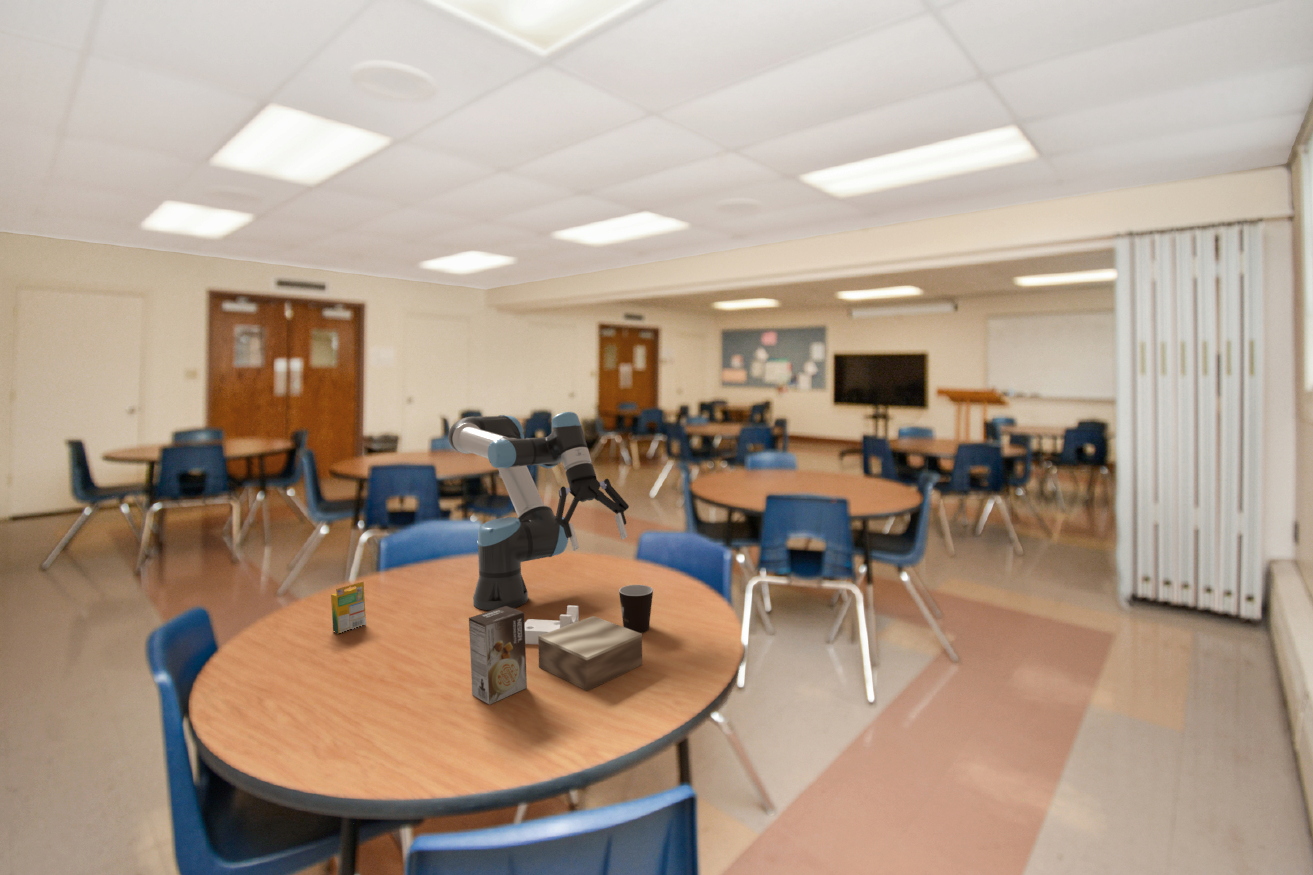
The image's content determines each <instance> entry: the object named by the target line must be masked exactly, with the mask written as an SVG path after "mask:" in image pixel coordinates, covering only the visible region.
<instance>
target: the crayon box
mask: <svg viewBox="0 0 1313 875" xmlns="http://www.w3.org/2000/svg"><path fill="white" fill-rule="evenodd" d="M335 589H336V592H335V593H332V594H330V599H331V600H330V602H331V616H332V617H331V618H332V619H331V620H332V632H333V631H335V632H336V633H335V632H334V633H335V634H337V633H341V634H343V633H345V632H344V631H346V632H348V631H347V630H349V629H352V630H355V629H356V628H355V627H358V628H360V627H359V626H361V625H365V626H366V625H367V619H366V618H367V617H366V603H365V583H364V581H361V582H357V583H353V584H349V585H346V586H343V587H339V588H335ZM361 627H362V626H361ZM354 628H355V629H354ZM349 631H350V630H349ZM342 632H343V633H342Z"/></svg>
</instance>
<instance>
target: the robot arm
mask: <svg viewBox="0 0 1313 875" xmlns="http://www.w3.org/2000/svg"><path fill="white" fill-rule="evenodd" d="M550 422H551V428H552V431H551V433H550V434H548V436H546V437H545V436H544V437H543V436H542V437H541V436H540V437H530V438H529V437H526V438H525V435H524V433H523V432H524V428H523V425H522V423H521V422H520V421H519V419H518V418H516V417H515V416H512V415H505V414H500V415H493V416H490V415H489V416H487V415H485V416H468V417H467V416H466V417H463V418H460V419H458V420H457V421H456V422H454V423H453V424H452V426H451V427H450V428H449V430H448V434H447V435H448V439H447V440H448V442H449V444H450V446H451V447H452V449H453V450H455V451H456V452H458V453H462V454H467V455H468V454H469V455H470V454H474V455H476V456H479V457H482V458H485V459H487V460H488V462H489V464H490V465H491V466H492V467H493V468H495V469H497V470H498V472H499V475H500V477H501V479H502V482H503V484H504V487H505V489H506V491H507V493H508V496H509V499H510V501H511V503H512V505H513V506H512V507H514V510H515V513H516V515H517V517H514V516H513V517H512V516H507V517H499V518H495V519H491V520H488V521H486V522H484V523H483V524H481V525H480V526H479V528H478V529H477V530H478V532H477V541H476V544H477V552H478V554H477V555H478V579H477V582H476V587H475V589H474V593H473V596H472V598H473V602H472V603H473V606H474V608H477V609H479V610H483V611H492V610H495V609H498V608H501V607H504V606H508V607H510V608H514V609H516V608H518V607H521V606H523V605H525V604H526V603H527V602H528V601H529V600H528V599H529V591H528V588H527V587H526V586H527V585H526V583H525V581H524V579H523V575H522V563H525V562H529V561H535V560H540V559H545V558H553V557H554V556H558V555H561V554H562V553H564V551H565V550H566V549H567V546H568V543H569V542H570V544H571V547H572V551H577V550H579V548H580V546H579V541H578V537H577V535H576V531H575V527H574V524H573V522H570V521H571V518H572V516H573V515H574V512H575V510H576V508H577V506H578V505H579V504H578V503H579V502H581V503H585V502H587V501H593V500H595V501H598V502H599V503H601V504H603V505H604V506H605V507H606V508H608V509H609V510H610V511H611V512H613V513H614V514H615V515H614V519H615V522H616V525H617V529H618V532H619V535H620V540H625V539H626V538H627V537H628V533H627V529H626V525H627V519H626V516H625V513H624V512H626V511H627V510H628V509H629V507H630V506H629V504H628V503H627V502H626V501H625V500H624V498H623V497H622V496H621V495H620V494H619V493H618V492H617V490H616V488H614V487H613V485H612V484H611V482H610V479H608V478H605V479H604V480H601V481H598V479H597V475H596V470H595V469H594V468H595V467H594V465H593V464H592V458H591V455H590V452H589V448H588V444H587V442H586V438H585V434H584V430H583V425H582V424H581V422H580V419H579V416H578V414H577V413H575V412H573V411H564V412H561V413H558V414H556V415H554V416H553V417H552V419H551V421H550ZM560 463H562V464H563V468H564V471H565V476H566V479H567V483H568V486H569V487H565V486H564V485H563V486H561V487H560V488H559V490H558V496H559V499H558V505H557V509H556V514H555V513H554V510H553V509H552V508H551V507H550V506H549V505H546V504H545V503H544V501H543V499H542V497H541V494H540V492H539V490H538V488H537V485H536V483H535V481H534V479H533V477H532V475H531V473H530V470H529V468H528V466H540V467H542V468H544V469H553V468H554V467H556V466H558V465H559V464H560ZM600 488H601V489H602V490H604V491H605V493H606V494H607V495H605V493H604V492H603V491H601V490H600ZM569 493H570V494H571V495H572V496H573V499H572V501H571V504H570V506H569V508H568V510H567V512H566V514H565V516H563V515H564V510H565V506H566V503H567V502H566V501H567V496H568V495H569ZM608 496H609V497H608ZM569 540H570V541H569Z"/></svg>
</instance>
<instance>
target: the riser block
mask: <svg viewBox="0 0 1313 875" xmlns="http://www.w3.org/2000/svg"><path fill="white" fill-rule="evenodd" d="M537 645H538V667H539V669H542V670H543V671H546V672H548V673H550V674H552V675H554V676H556V677H558V678H560V679H562V680H564V681H565V682H568V683H570V684H572V685H574V686H576V687H578V688H580V689H583V690H584V691H586V692H589V691H591V690H593V689H594V688H596V687H599V686H600V685H603V684H605V683H608V682H609V681H611V680H613V679H616V678H618V677H619V676H622V675H624V674H626V673H628V672H630V671H632V670H634V669H636V668H638V667H641V666H642V665H643V633H638V632H636V631H633V630H630V629H628V628H625V627H624V626H623V625H619V624H616V623H613V622H612V621H608V620H605V619H603V618H600V617H597V616H595V615H592V616H590V617H587V618H584V619H581V620H579V621H578V622H575V623H573V624H570V625H567V626H565V627H562V628H559V629H556V630H554V631H551V632H548V633H545V634H543V635H540V636H538V644H537Z"/></svg>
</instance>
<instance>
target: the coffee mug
mask: <svg viewBox="0 0 1313 875" xmlns="http://www.w3.org/2000/svg"><path fill="white" fill-rule="evenodd" d="M618 593H619V602H620V609H621V616H622V624H623V625H622V627H625V628H628V629H630V630H633V631H636V632H638V633H641V634H644V633H647V632H648V631H649V630H650V623H651V612H652V604H653V595H654V594H653V593H654V588H653V587H651V586H648V585H644V584H628V585H624V586H622V587H620V588H619V589H618Z"/></svg>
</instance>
